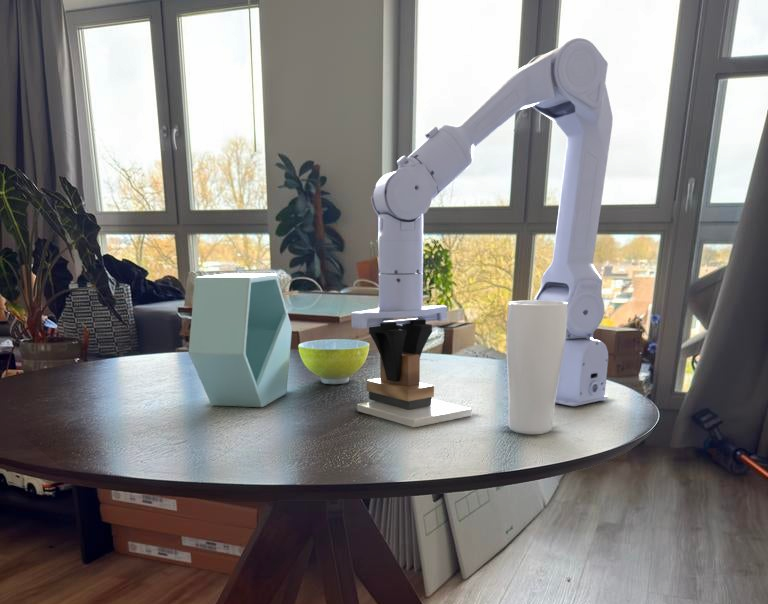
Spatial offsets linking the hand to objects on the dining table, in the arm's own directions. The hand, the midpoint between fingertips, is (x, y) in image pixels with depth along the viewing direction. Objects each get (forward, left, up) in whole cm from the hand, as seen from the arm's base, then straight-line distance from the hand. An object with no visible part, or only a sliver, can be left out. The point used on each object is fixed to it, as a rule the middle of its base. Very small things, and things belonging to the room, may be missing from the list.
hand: (400, 379), depth 97 cm
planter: (+19, +13, -4) cm, 24 cm away
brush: (0, 0, -3) cm, 3 cm away
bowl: (+23, -5, -4) cm, 24 cm away
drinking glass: (-19, -5, -4) cm, 20 cm away
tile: (-3, 0, -4) cm, 5 cm away
